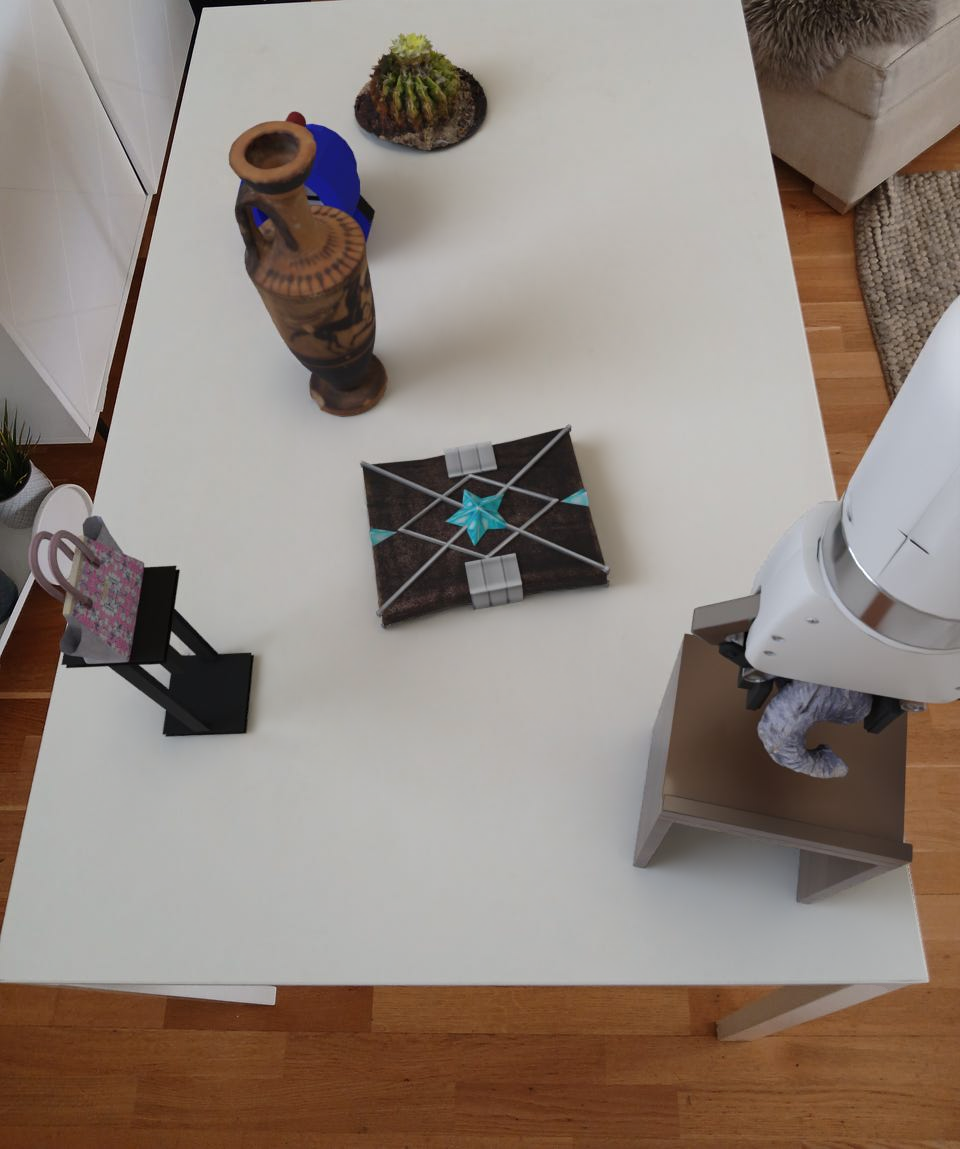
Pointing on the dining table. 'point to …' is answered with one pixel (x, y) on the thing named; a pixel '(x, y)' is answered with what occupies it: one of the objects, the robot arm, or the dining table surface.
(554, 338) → the dining table surface
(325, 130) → the alarm clock
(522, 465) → the book
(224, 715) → the handbag
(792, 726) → the seashell
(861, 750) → the shelf
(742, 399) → the dining table surface
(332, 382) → the vase
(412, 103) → the cactus
